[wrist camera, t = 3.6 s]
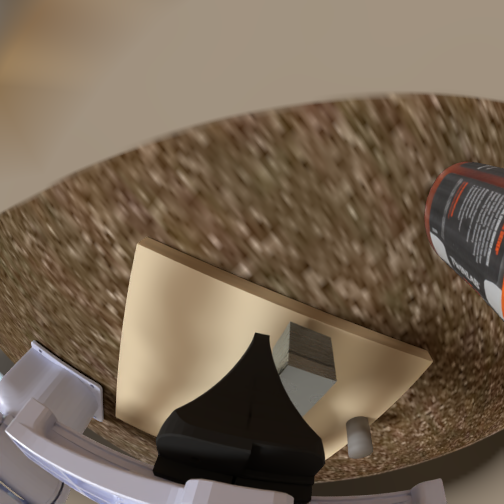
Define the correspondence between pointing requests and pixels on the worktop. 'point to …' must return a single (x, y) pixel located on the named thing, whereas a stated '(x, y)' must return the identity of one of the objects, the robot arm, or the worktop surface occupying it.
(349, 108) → the worktop surface
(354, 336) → the plate
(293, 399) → the crank
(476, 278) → the supplement bottle
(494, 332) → the worktop surface
